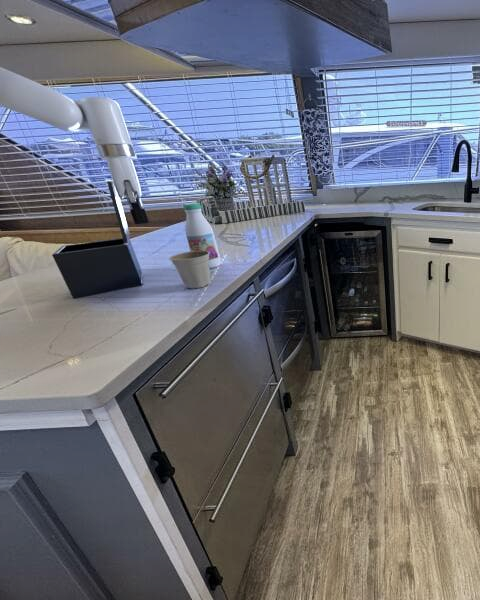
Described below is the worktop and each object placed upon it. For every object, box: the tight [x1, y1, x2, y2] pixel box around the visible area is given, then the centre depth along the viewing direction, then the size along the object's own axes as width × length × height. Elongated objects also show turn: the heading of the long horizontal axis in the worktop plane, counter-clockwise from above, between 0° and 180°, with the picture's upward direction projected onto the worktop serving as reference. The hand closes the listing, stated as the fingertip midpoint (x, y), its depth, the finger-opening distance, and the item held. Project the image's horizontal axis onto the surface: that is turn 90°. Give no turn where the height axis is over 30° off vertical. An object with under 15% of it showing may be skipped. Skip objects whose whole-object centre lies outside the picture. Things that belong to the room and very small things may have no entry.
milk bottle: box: [182, 202, 222, 269], centre depth 102 cm, size 8×8×20 cm
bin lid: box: [106, 180, 131, 243], centre depth 88 cm, size 15×13×1 cm
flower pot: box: [168, 251, 212, 289], centre depth 87 cm, size 9×9×9 cm
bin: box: [51, 237, 144, 300], centre depth 89 cm, size 15×13×12 cm
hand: (142, 223), depth 91 cm, fingers closed
